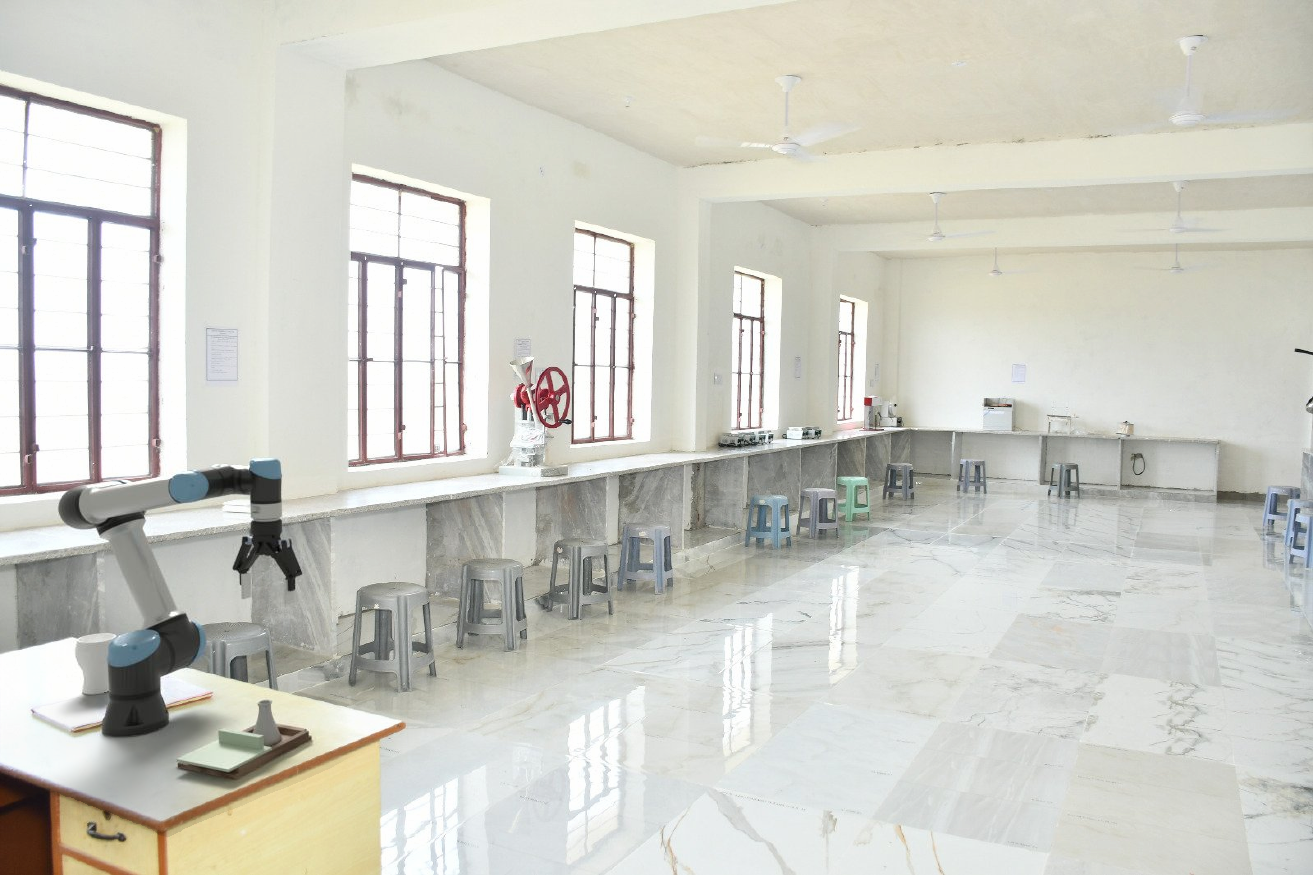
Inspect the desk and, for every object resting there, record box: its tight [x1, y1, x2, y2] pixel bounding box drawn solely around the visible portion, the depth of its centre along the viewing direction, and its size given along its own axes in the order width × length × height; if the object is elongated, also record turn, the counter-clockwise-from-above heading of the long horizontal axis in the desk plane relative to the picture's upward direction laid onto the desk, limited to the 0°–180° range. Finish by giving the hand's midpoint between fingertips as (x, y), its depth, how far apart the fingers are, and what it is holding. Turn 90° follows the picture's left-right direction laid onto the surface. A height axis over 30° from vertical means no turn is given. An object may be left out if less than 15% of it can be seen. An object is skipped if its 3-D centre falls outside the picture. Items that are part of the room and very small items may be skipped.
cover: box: [176, 727, 272, 772], centre depth 226 cm, size 15×14×4 cm
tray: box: [177, 723, 313, 780], centre depth 234 cm, size 17×25×2 cm
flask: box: [253, 699, 282, 746], centre depth 238 cm, size 7×7×10 cm
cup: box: [74, 632, 117, 695], centre depth 275 cm, size 11×11×15 cm
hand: (267, 600), depth 252 cm, fingers open, 13 cm apart
